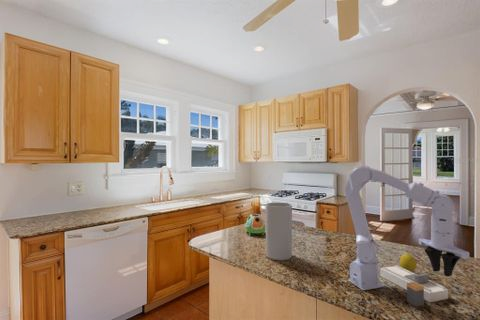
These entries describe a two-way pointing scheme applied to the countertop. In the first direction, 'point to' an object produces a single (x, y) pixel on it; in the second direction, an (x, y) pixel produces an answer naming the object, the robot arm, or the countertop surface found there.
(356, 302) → the countertop surface
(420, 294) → the orange and grey block
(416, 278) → the shutter
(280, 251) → the cylinder vase
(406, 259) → the lemon
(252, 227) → the turtle holder
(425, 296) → the socket board
